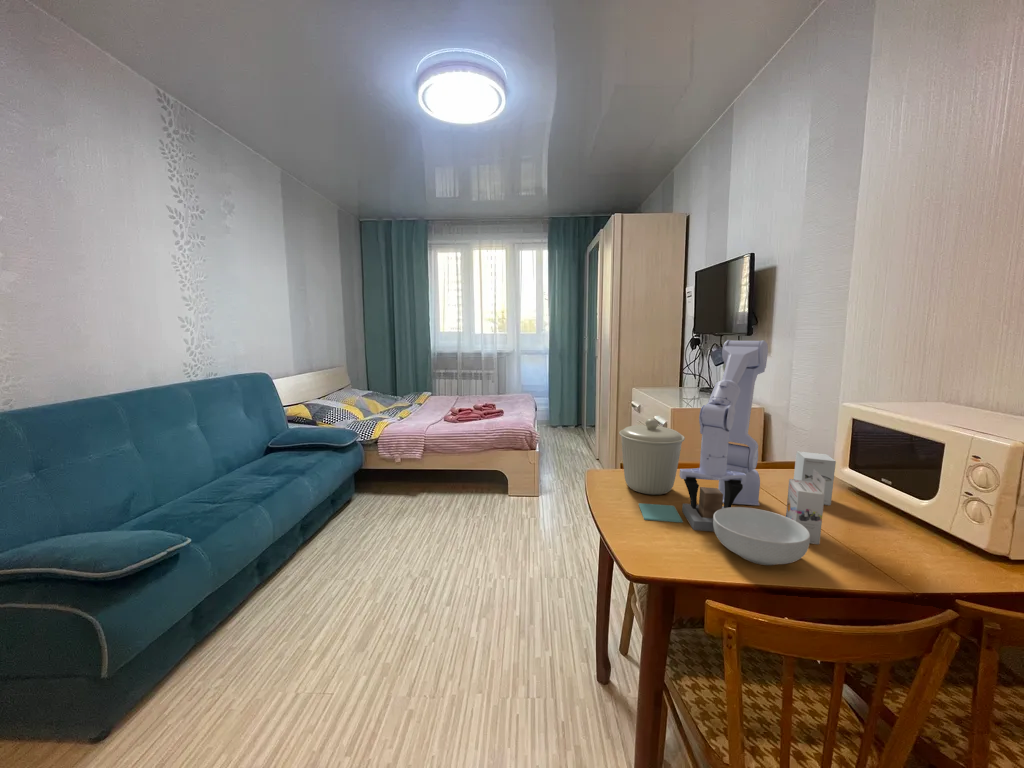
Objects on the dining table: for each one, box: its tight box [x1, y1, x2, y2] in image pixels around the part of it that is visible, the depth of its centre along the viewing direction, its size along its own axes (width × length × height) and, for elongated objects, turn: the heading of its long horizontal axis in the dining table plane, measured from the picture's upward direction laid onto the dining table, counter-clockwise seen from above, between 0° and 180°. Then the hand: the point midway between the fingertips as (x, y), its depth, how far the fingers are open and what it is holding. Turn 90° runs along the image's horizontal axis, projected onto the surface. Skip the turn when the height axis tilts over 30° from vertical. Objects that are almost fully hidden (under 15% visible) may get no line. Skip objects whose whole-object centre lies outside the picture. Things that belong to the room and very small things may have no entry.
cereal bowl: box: [713, 506, 811, 566], centre depth 83 cm, size 17×17×7 cm
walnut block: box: [698, 486, 724, 518], centre depth 97 cm, size 4×4×8 cm
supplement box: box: [793, 450, 837, 506], centre depth 112 cm, size 7×7×13 cm
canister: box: [618, 418, 686, 496], centre depth 118 cm, size 18×18×21 cm
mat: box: [638, 502, 684, 524], centre depth 103 cm, size 9×9×1 cm
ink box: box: [785, 469, 826, 545], centre depth 91 cm, size 8×5×15 cm, turn 158°
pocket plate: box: [681, 503, 724, 533], centre depth 98 cm, size 10×10×2 cm
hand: (710, 508), depth 97 cm, fingers open, 7 cm apart
